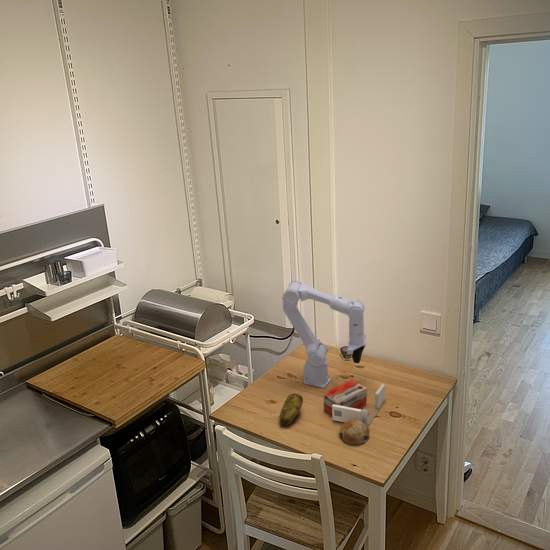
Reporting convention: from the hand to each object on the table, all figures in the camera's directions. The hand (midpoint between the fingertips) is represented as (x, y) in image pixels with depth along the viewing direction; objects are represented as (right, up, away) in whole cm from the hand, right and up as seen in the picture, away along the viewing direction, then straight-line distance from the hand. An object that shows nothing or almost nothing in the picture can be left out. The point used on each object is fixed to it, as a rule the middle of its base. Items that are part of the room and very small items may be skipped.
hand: (356, 362), depth 231 cm
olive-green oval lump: (-27, -19, -15) cm, 36 cm away
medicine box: (-6, -16, -11) cm, 20 cm away
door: (-6, -19, -20) cm, 28 cm away
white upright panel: (+4, -17, -15) cm, 23 cm away
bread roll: (-5, -22, -27) cm, 36 cm away
